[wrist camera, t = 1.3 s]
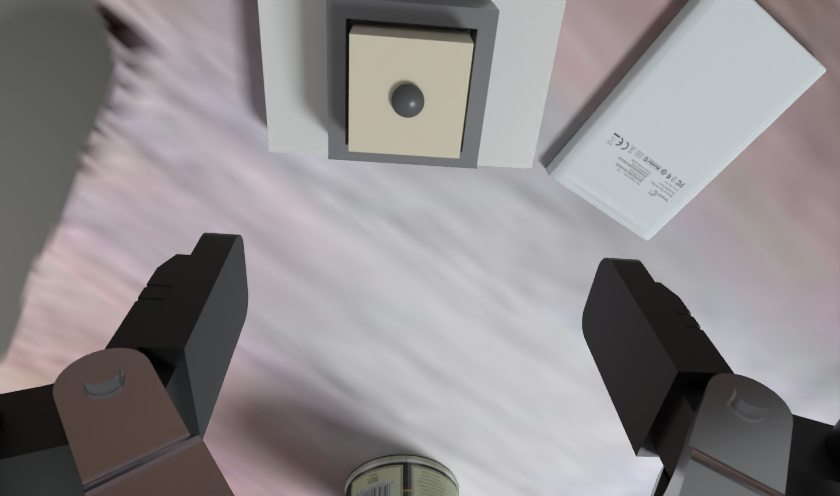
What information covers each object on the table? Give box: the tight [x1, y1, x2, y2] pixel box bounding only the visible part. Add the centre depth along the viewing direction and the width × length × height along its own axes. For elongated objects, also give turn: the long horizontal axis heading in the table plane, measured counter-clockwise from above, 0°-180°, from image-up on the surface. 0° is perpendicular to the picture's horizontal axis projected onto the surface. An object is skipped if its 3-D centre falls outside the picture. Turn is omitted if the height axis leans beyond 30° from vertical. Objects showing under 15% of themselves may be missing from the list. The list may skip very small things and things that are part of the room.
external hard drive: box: [546, 0, 826, 240], centre depth 30 cm, size 2×8×12 cm
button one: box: [349, 22, 474, 159], centre depth 24 cm, size 5×5×3 cm
